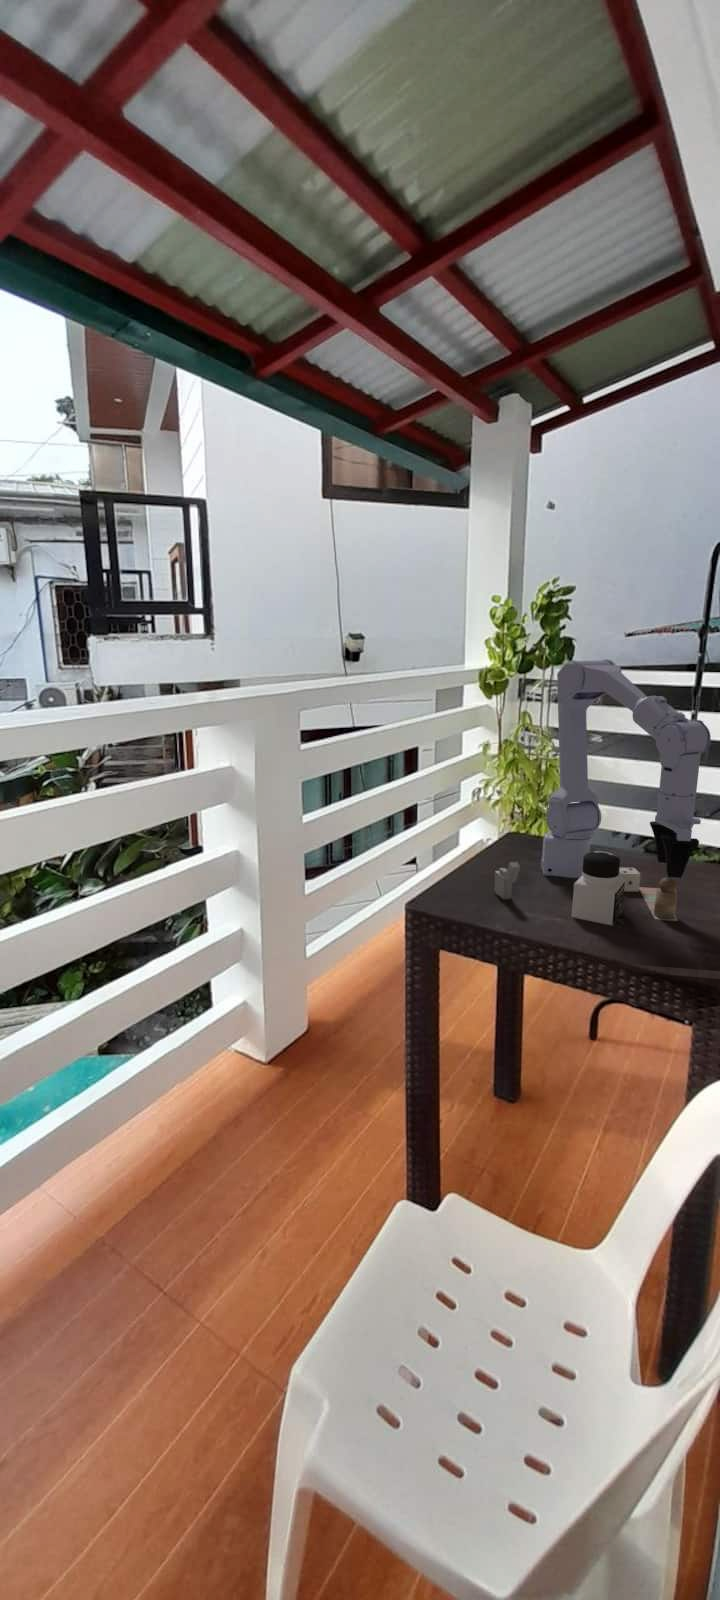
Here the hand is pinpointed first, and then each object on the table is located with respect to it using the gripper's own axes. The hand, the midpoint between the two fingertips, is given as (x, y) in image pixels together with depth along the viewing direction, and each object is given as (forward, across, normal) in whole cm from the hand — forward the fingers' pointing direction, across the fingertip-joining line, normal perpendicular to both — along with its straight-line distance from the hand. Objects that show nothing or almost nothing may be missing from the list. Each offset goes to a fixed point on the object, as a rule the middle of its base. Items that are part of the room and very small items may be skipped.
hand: (669, 869), depth 121 cm
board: (+9, +6, +2) cm, 11 cm away
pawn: (+8, 0, 0) cm, 8 cm away
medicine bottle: (+10, -2, +12) cm, 15 cm away
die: (+9, +13, +4) cm, 16 cm away
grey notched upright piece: (+10, +6, +27) cm, 29 cm away
